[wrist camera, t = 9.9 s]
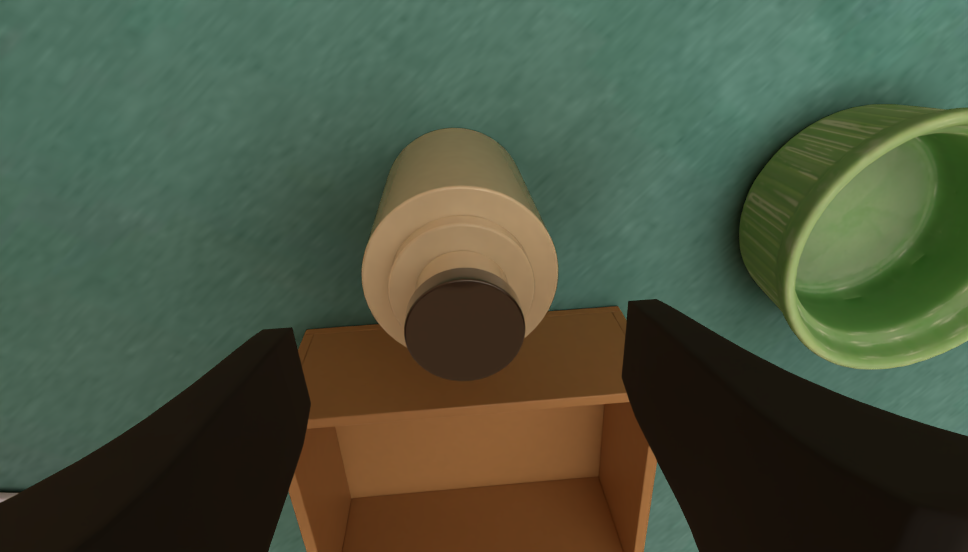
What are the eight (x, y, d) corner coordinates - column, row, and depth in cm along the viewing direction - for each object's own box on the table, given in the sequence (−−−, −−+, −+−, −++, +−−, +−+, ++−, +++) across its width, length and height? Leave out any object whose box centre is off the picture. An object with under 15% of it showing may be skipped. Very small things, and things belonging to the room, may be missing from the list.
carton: (603, 474, 26) (640, 578, 22) (345, 497, 26) (324, 609, 21) (618, 305, 22) (667, 389, 17) (306, 329, 21) (267, 422, 17)
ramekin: (892, 29, 18) (1020, 35, 14) (987, 204, 21) (1112, 250, 17) (676, 213, 20) (733, 262, 16) (792, 344, 23) (862, 411, 20)
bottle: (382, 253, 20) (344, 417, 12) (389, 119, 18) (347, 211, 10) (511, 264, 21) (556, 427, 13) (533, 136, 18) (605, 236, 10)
